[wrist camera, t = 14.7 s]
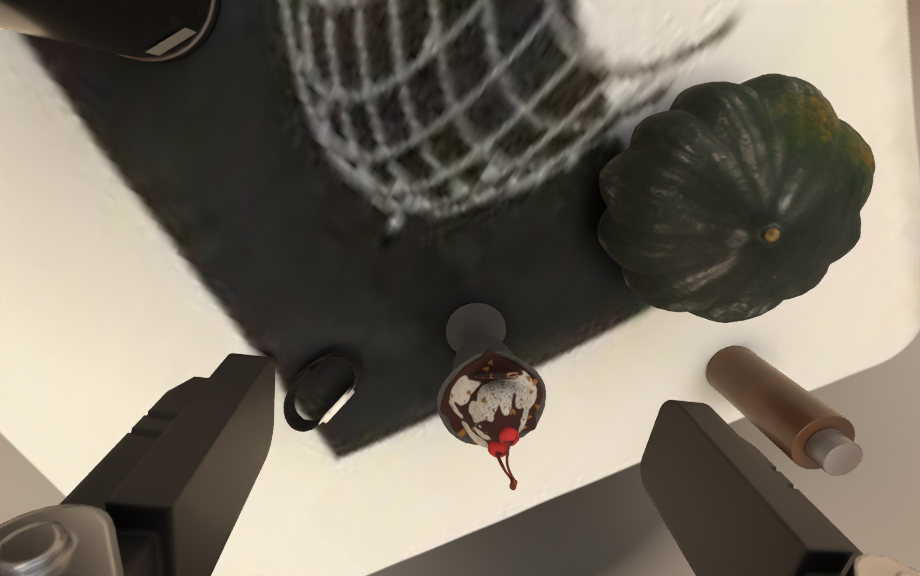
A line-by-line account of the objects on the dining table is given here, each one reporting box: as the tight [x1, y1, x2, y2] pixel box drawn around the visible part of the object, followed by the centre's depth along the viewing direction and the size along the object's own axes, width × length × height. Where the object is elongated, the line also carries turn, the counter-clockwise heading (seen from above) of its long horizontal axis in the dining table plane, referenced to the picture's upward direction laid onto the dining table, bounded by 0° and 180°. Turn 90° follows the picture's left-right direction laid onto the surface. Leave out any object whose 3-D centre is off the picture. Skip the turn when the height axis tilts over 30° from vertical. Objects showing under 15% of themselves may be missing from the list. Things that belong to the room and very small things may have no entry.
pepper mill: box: [706, 346, 863, 476], centre depth 34 cm, size 4×4×12 cm
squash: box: [597, 74, 875, 323], centre depth 28 cm, size 14×15×15 cm
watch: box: [284, 351, 361, 432], centre depth 36 cm, size 8×5×4 cm, turn 138°
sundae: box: [437, 303, 546, 490], centre depth 30 cm, size 7×7×15 cm
